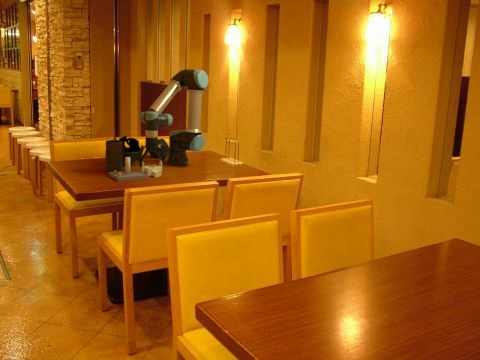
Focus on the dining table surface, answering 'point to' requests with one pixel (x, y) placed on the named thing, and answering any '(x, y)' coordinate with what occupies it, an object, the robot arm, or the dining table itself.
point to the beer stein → (114, 155)
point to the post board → (129, 176)
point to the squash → (165, 149)
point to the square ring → (152, 170)
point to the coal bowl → (130, 149)
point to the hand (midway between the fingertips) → (151, 171)
